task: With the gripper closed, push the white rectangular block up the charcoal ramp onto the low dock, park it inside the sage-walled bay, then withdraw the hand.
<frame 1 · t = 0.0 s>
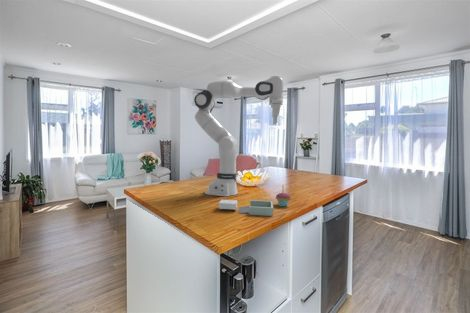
hand: (275, 123, 156), 48 cm above the worktop, fingers open, 8 cm apart
white rectangular block: (228, 209, 128), on the worktop
dock: (260, 211, 126), on the worktop
cupcake: (283, 205, 138), on the worktop
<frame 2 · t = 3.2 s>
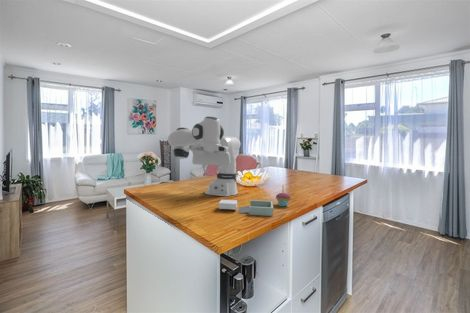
hand: (211, 173, 127), 19 cm above the worktop, fingers open, 4 cm apart
nothing on the worktop moved.
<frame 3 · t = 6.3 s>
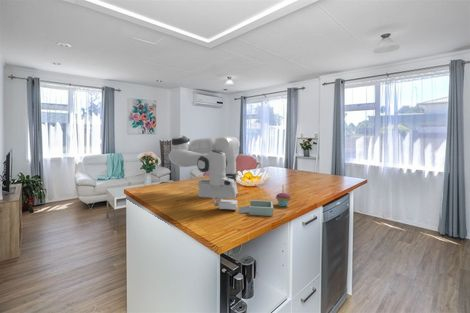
hand: (216, 205, 128), 2 cm above the worktop, fingers closed
white rectangular block: (228, 209, 128), on the worktop, touching gripper
everything else where it was.
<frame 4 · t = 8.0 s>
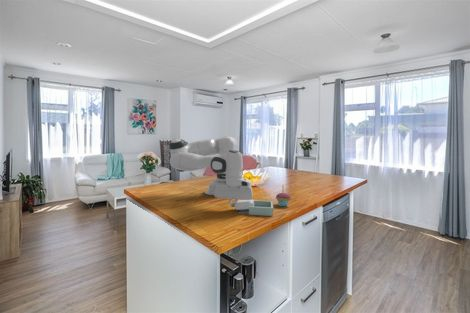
hand: (233, 206, 127), 2 cm above the worktop, fingers closed
white rectangular block: (245, 209, 126), point 1 cm above the worktop, tilted 8°, touching dock, gripper
everything else where it was.
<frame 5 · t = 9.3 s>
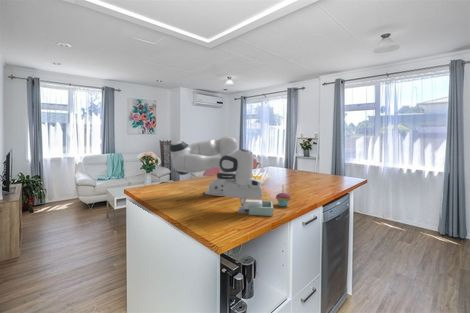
hand: (242, 206, 126), 2 cm above the worktop, fingers closed
white rectangular block: (253, 209, 125), point 1 cm above the worktop, touching dock, gripper
everything else where it was.
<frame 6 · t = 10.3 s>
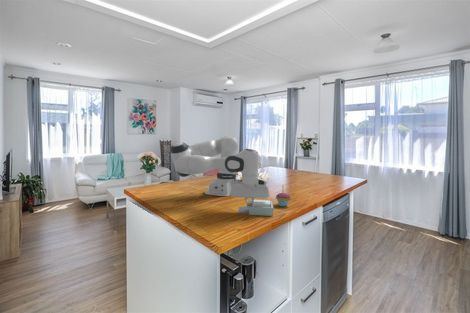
hand: (249, 205, 126), 3 cm above the worktop, fingers closed
white rectangular block: (261, 209, 125), point 1 cm above the worktop, touching dock, gripper
everything else where it was.
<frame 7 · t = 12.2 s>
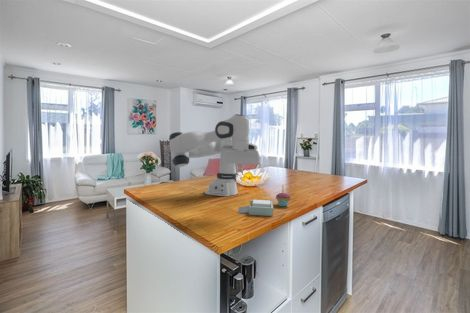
hand: (239, 172, 125), 20 cm above the worktop, fingers closed
white rectangular block: (261, 209, 125), point 1 cm above the worktop, touching dock
everything else where it was.
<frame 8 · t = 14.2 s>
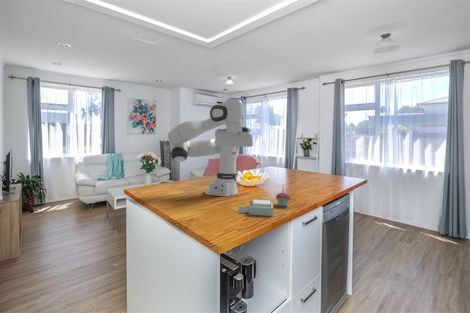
hand: (233, 154, 128), 29 cm above the worktop, fingers closed
nothing on the worktop moved.
at the end: white rectangular block 1.0 cm off-centre on the dock, point 1.0 cm above the dock's base; white rectangular block tilted 0° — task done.
